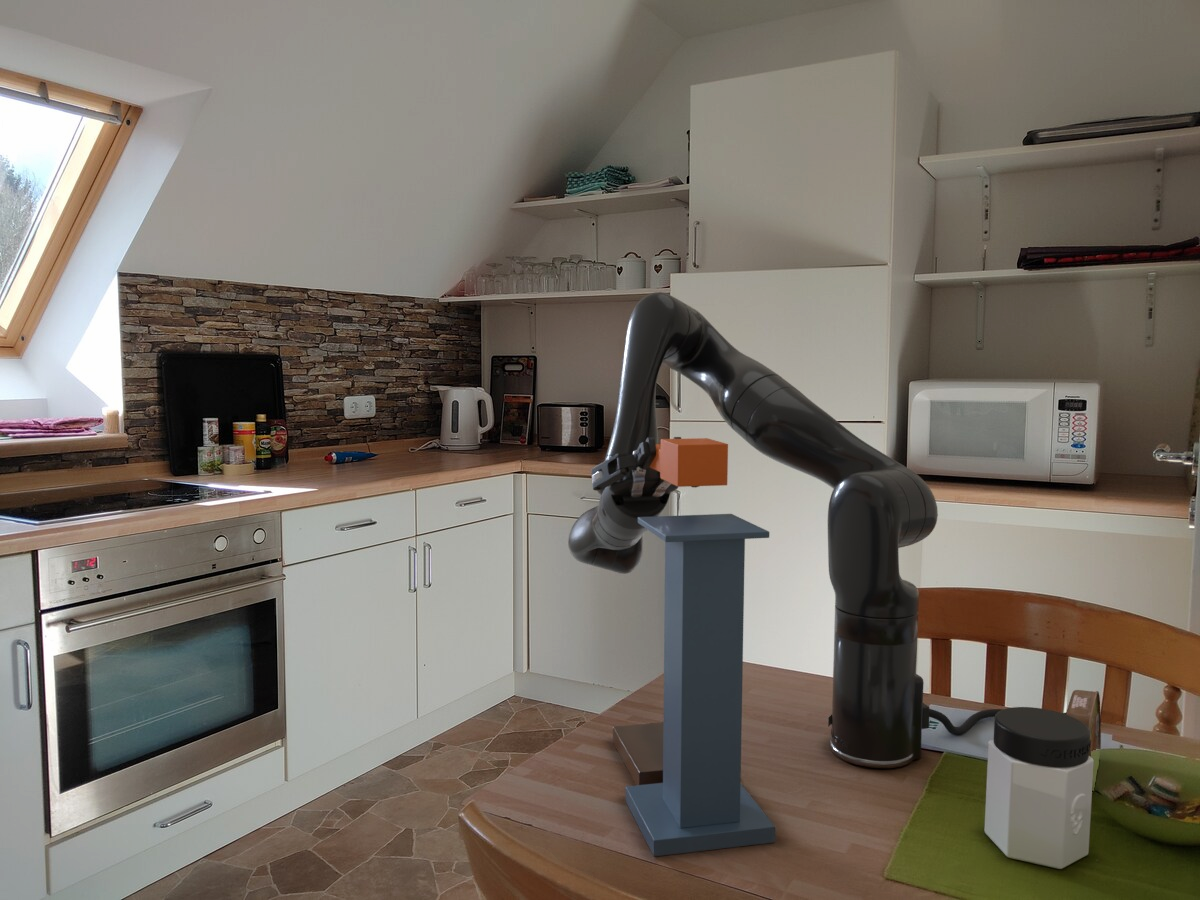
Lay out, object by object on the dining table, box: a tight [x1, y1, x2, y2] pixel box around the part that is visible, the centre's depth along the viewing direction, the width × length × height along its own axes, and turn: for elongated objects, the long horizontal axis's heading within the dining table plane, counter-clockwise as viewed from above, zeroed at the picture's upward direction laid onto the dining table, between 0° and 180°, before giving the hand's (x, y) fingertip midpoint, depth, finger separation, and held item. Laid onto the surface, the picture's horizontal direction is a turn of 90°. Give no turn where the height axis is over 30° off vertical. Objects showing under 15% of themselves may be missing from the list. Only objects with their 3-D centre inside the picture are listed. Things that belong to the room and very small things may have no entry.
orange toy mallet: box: [649, 437, 729, 488], centre depth 96 cm, size 5×16×4 cm, turn 12°
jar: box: [983, 706, 1094, 870], centre depth 87 cm, size 9×8×12 cm
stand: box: [625, 513, 776, 857], centre depth 90 cm, size 12×11×30 cm
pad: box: [612, 721, 664, 786], centre depth 105 cm, size 9×12×2 cm
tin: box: [1065, 689, 1102, 757], centre depth 102 cm, size 15×3×8 cm, turn 148°
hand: (666, 445), depth 100 cm, fingers closed on orange toy mallet, 2 cm apart
